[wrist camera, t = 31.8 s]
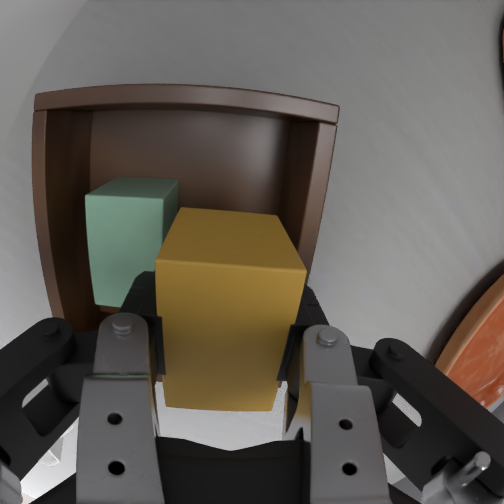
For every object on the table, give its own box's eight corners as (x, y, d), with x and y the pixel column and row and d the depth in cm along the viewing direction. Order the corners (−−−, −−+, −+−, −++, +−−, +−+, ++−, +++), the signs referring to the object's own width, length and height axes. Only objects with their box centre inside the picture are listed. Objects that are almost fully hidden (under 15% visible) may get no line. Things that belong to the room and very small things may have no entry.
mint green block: (117, 176, 15) (84, 195, 11) (179, 179, 16) (163, 198, 12) (119, 264, 17) (94, 304, 13) (175, 269, 18) (163, 312, 14)
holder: (86, 98, 14) (34, 93, 9) (304, 110, 15) (340, 105, 10) (95, 314, 19) (67, 366, 14) (268, 329, 21) (280, 387, 16)
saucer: (457, 254, 20) (485, 275, 17) (562, 244, 22) (580, 256, 18) (391, 425, 29) (402, 447, 26) (504, 378, 31) (516, 392, 28)
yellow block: (180, 206, 11) (154, 259, 7) (277, 214, 11) (308, 270, 7) (178, 327, 13) (165, 407, 9) (258, 332, 13) (271, 412, 9)
